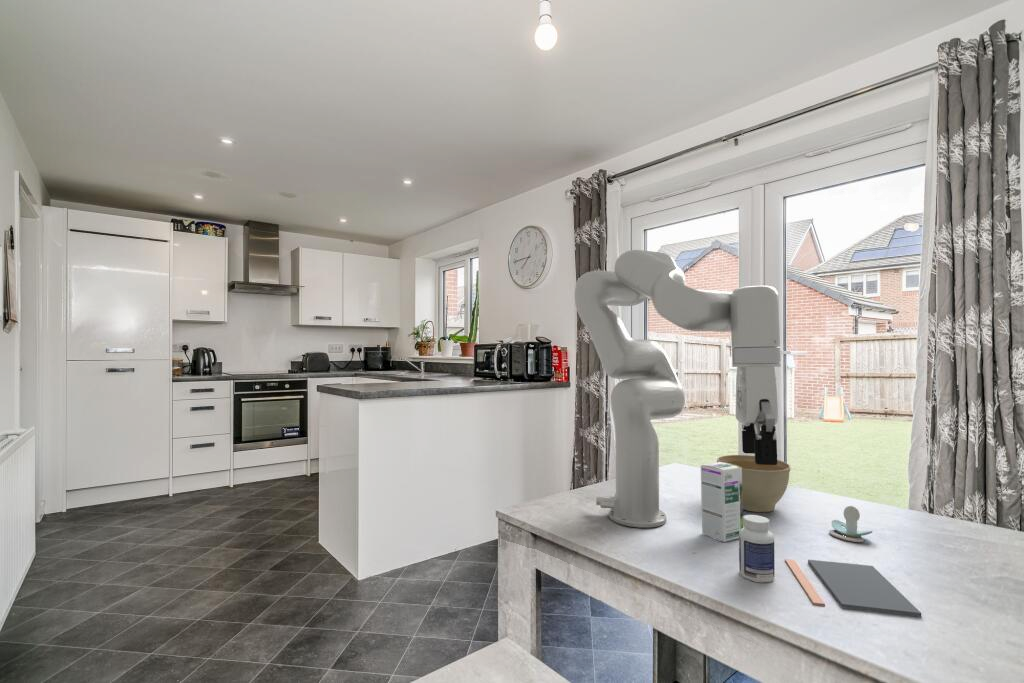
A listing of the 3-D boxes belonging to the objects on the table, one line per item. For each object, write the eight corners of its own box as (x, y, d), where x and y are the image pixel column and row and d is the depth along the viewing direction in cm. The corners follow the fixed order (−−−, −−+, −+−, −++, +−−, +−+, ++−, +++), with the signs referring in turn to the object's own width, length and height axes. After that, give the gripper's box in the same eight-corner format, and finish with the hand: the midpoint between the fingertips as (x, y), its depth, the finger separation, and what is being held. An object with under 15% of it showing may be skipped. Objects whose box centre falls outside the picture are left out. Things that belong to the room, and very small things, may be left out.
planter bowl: (717, 512, 117) (716, 466, 117) (717, 494, 132) (717, 452, 132) (795, 521, 110) (794, 472, 111) (786, 501, 125) (786, 457, 125)
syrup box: (724, 543, 98) (723, 469, 99) (700, 533, 104) (700, 463, 104) (743, 538, 101) (743, 466, 101) (719, 528, 106) (719, 460, 106)
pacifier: (858, 547, 97) (877, 541, 99) (857, 515, 97) (875, 510, 99) (821, 534, 104) (839, 529, 106) (820, 504, 104) (838, 500, 106)
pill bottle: (782, 582, 82) (781, 522, 82) (753, 585, 81) (753, 525, 81) (759, 567, 87) (759, 512, 88) (732, 570, 86) (732, 514, 86)
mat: (841, 607, 74) (841, 603, 74) (808, 562, 89) (808, 559, 89) (921, 617, 71) (921, 613, 71) (872, 569, 87) (872, 565, 87)
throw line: (813, 604, 75) (813, 602, 75) (785, 560, 90) (785, 558, 90) (824, 605, 74) (824, 603, 74) (794, 561, 90) (794, 559, 90)
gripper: (723, 358, 95) (726, 448, 94) (742, 358, 78) (745, 468, 78) (766, 358, 93) (769, 450, 93) (795, 358, 77) (799, 470, 76)
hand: (758, 458), depth 85 cm, fingers open, 9 cm apart
